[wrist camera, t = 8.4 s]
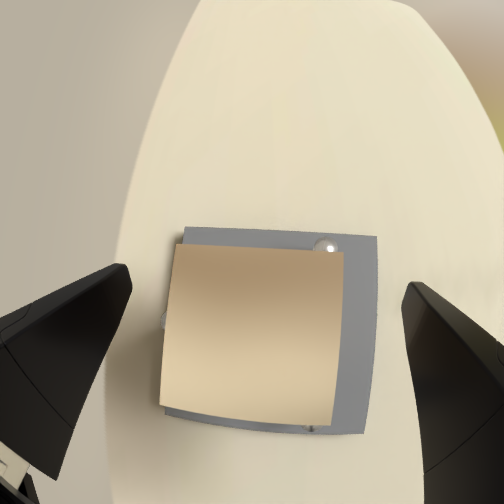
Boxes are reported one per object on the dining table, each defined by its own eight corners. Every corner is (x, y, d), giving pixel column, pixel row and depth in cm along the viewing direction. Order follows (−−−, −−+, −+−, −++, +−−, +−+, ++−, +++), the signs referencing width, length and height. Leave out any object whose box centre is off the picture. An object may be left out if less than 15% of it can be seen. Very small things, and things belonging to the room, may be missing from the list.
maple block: (305, 369, 15) (330, 425, 5) (233, 364, 16) (159, 404, 6) (310, 299, 16) (343, 252, 6) (240, 294, 17) (176, 243, 7)
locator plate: (359, 428, 14) (375, 448, 11) (170, 410, 16) (146, 424, 13) (372, 241, 18) (389, 221, 14) (189, 231, 19) (170, 211, 16)
